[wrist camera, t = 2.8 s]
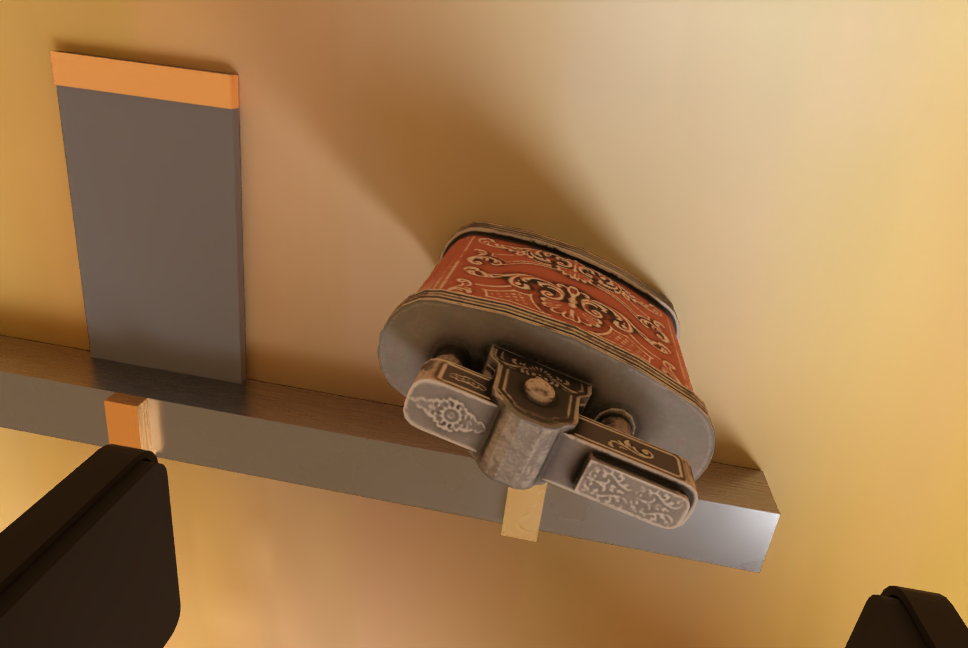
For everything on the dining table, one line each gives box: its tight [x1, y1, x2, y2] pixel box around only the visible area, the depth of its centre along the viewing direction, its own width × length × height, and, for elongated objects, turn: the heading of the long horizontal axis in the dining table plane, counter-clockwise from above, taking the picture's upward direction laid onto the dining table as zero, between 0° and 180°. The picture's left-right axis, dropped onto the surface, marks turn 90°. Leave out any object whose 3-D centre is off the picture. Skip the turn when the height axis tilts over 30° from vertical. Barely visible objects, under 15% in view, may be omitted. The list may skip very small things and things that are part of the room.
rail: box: [0, 335, 780, 573], centre depth 24 cm, size 30×2×3 cm, turn 83°
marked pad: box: [50, 51, 246, 384], centre depth 23 cm, size 6×11×1 cm, turn 174°
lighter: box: [378, 222, 715, 529], centre depth 17 cm, size 8×3×10 cm, turn 69°
